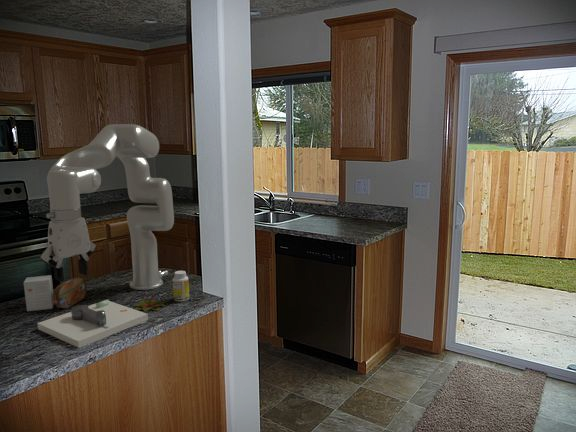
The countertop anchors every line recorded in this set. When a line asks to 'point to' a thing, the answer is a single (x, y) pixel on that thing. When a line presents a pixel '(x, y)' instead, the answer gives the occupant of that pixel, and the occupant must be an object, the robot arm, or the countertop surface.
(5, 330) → the countertop surface
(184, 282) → the supplement bottle
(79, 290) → the tin
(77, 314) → the grey knobbed bar
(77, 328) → the base
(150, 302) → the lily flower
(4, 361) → the countertop surface
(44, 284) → the small box
